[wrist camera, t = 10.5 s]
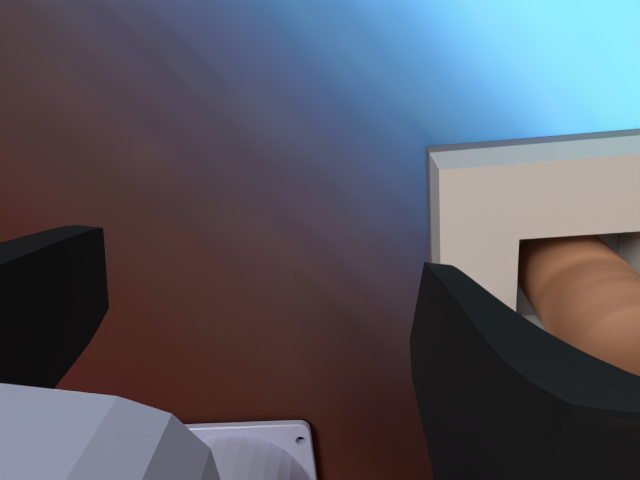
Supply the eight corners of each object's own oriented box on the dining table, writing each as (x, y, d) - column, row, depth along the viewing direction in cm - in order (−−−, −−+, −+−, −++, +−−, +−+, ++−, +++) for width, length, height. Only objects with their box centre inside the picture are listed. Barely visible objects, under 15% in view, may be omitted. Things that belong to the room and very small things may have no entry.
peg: (600, 297, 22) (701, 414, 15) (512, 303, 22) (575, 420, 16) (607, 217, 21) (721, 309, 14) (514, 225, 21) (583, 318, 14)
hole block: (657, 348, 24) (705, 400, 21) (431, 359, 25) (442, 410, 21) (695, 124, 20) (760, 144, 17) (425, 146, 21) (438, 170, 18)
